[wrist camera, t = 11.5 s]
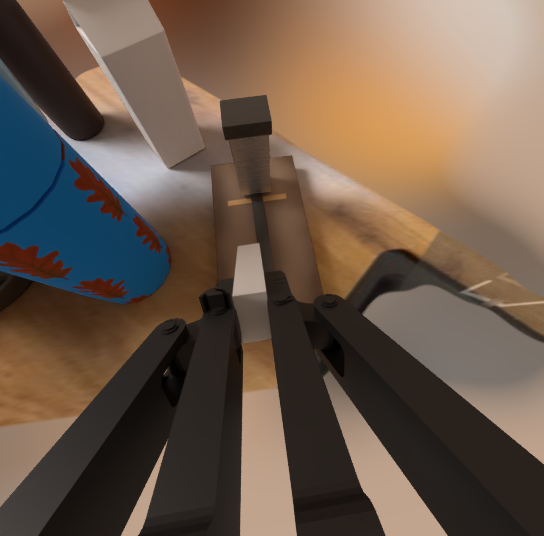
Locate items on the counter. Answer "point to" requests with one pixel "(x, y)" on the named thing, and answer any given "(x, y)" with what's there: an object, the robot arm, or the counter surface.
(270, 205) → the console
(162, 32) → the milk carton
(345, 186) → the counter surface
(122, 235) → the thermos
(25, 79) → the bottle
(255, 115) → the fader handle
